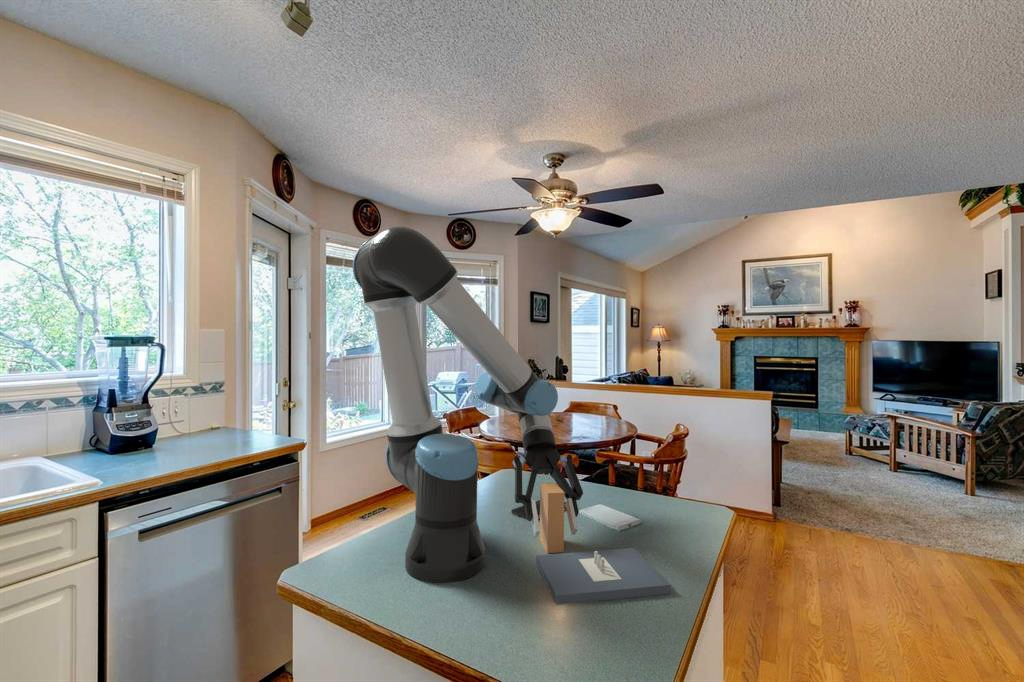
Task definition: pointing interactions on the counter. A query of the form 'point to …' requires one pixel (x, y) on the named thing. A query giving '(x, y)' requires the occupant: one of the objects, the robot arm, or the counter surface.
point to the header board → (600, 576)
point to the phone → (521, 512)
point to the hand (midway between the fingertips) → (556, 532)
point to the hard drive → (610, 517)
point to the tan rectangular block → (552, 517)
